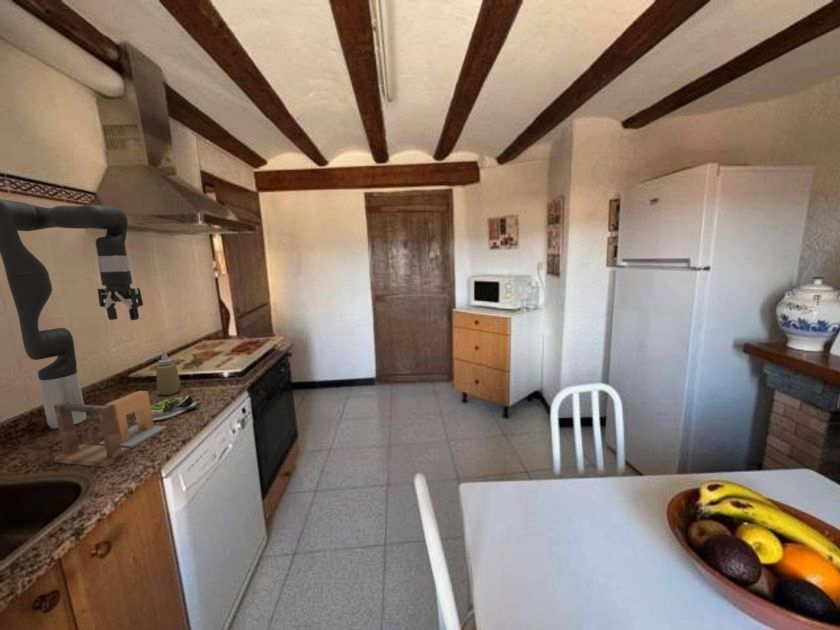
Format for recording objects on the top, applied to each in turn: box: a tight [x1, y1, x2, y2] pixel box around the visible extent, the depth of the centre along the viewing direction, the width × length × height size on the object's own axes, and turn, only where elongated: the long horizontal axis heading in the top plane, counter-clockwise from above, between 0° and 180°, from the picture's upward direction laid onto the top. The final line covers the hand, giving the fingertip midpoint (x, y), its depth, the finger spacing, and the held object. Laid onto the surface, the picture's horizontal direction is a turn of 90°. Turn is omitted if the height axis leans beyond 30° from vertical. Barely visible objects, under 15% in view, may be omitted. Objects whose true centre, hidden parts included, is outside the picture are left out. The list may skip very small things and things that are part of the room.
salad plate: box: [134, 394, 199, 423], centre depth 127 cm, size 19×18×5 cm
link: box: [105, 390, 155, 443], centre depth 110 cm, size 4×10×12 cm, turn 170°
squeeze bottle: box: [155, 351, 181, 396], centre depth 145 cm, size 8×8×18 cm
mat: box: [98, 424, 168, 449], centre depth 111 cm, size 12×12×1 cm
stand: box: [54, 402, 132, 468], centre depth 98 cm, size 17×7×16 cm, turn 80°
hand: (124, 319), depth 115 cm, fingers open, 8 cm apart
